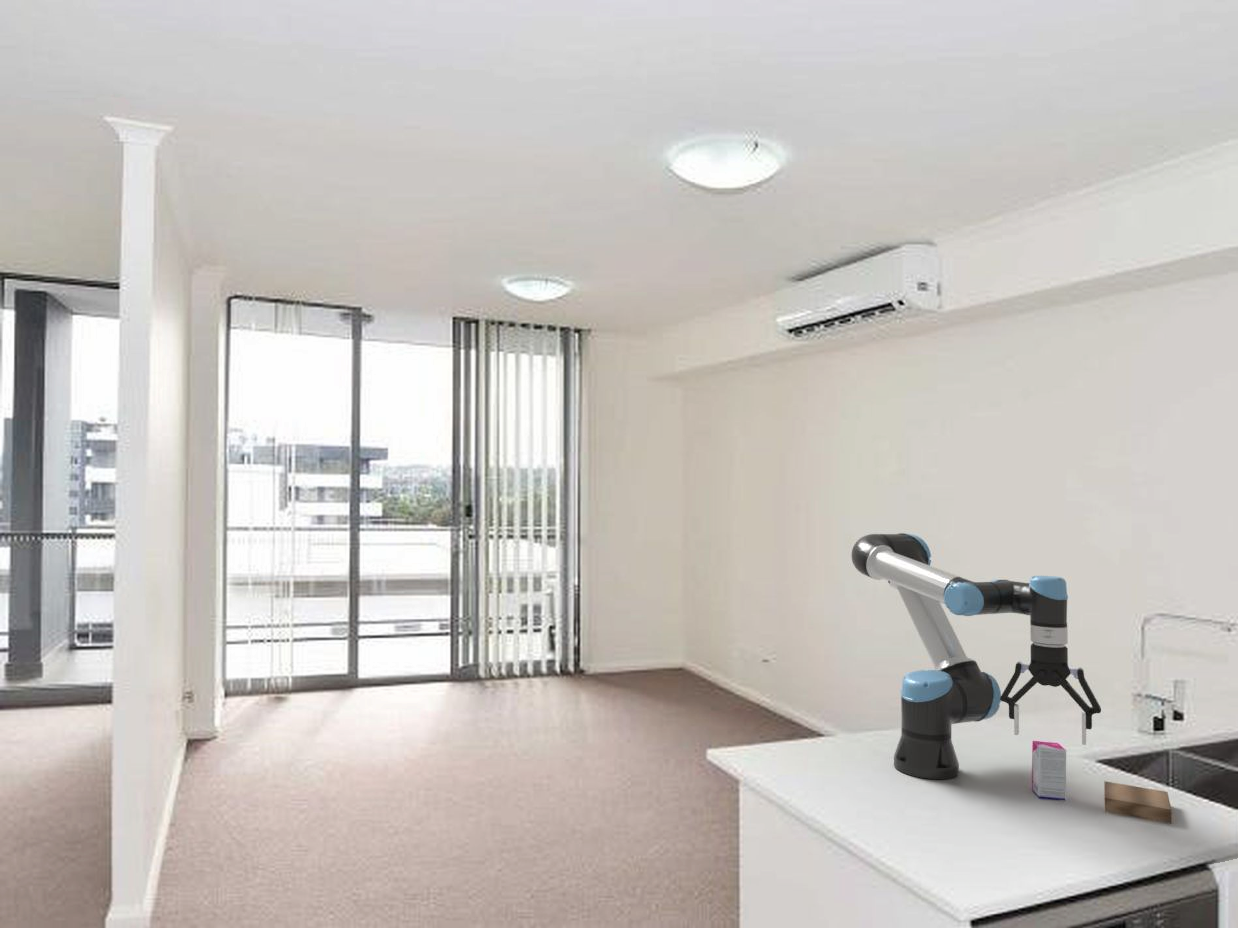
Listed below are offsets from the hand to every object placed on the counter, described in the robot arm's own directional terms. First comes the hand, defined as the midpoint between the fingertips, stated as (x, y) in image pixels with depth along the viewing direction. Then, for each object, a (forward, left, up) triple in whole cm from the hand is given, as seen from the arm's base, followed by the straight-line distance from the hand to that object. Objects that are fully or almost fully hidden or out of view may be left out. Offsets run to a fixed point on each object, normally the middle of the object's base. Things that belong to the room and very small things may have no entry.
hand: (1049, 738), depth 186 cm
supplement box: (0, 0, -13) cm, 13 cm away
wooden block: (+17, +2, -13) cm, 21 cm away
